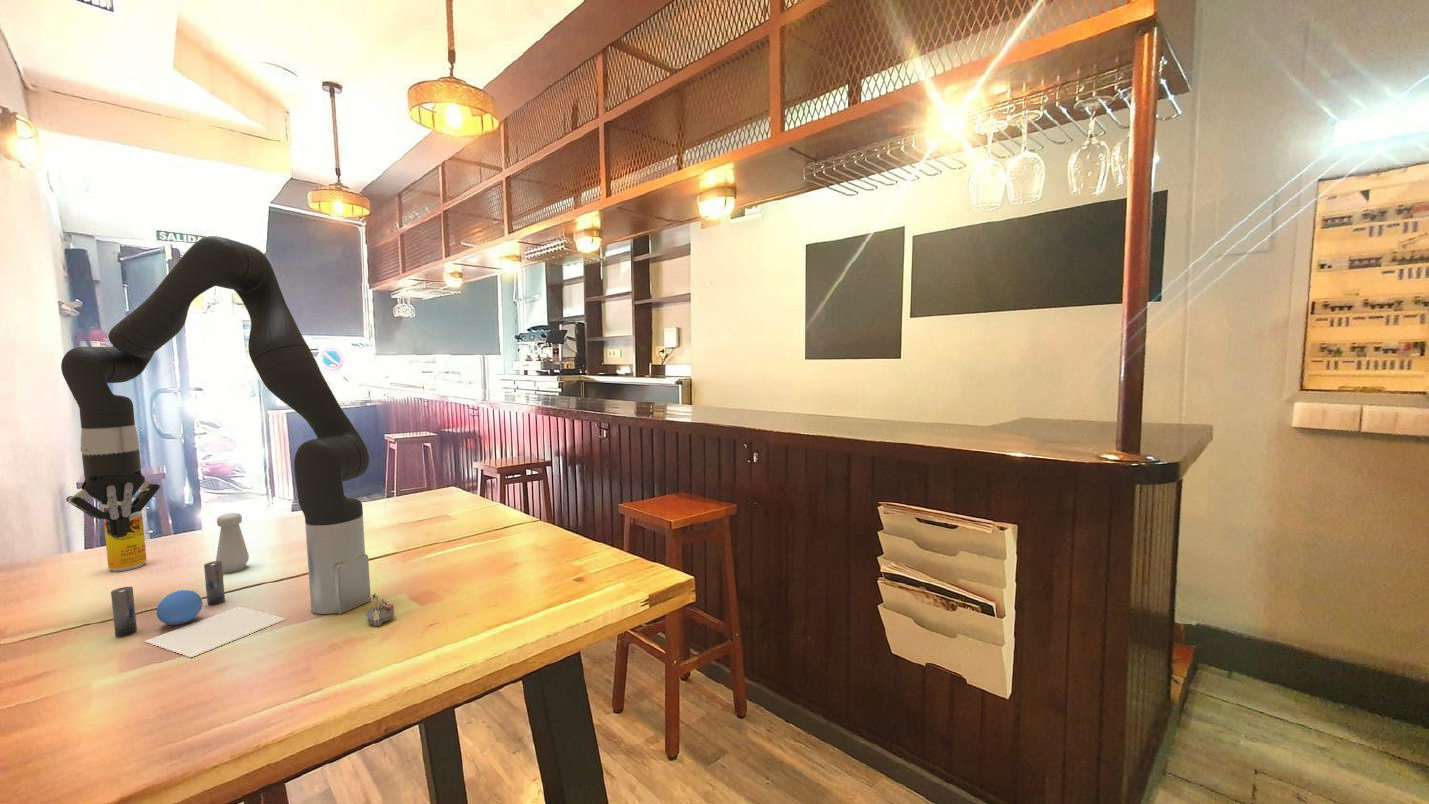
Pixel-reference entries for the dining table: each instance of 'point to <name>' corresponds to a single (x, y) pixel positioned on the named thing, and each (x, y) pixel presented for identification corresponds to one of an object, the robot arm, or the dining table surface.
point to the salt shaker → (231, 543)
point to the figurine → (380, 612)
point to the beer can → (127, 546)
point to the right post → (214, 582)
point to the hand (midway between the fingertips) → (119, 536)
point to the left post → (123, 611)
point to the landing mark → (214, 631)
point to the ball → (179, 607)
